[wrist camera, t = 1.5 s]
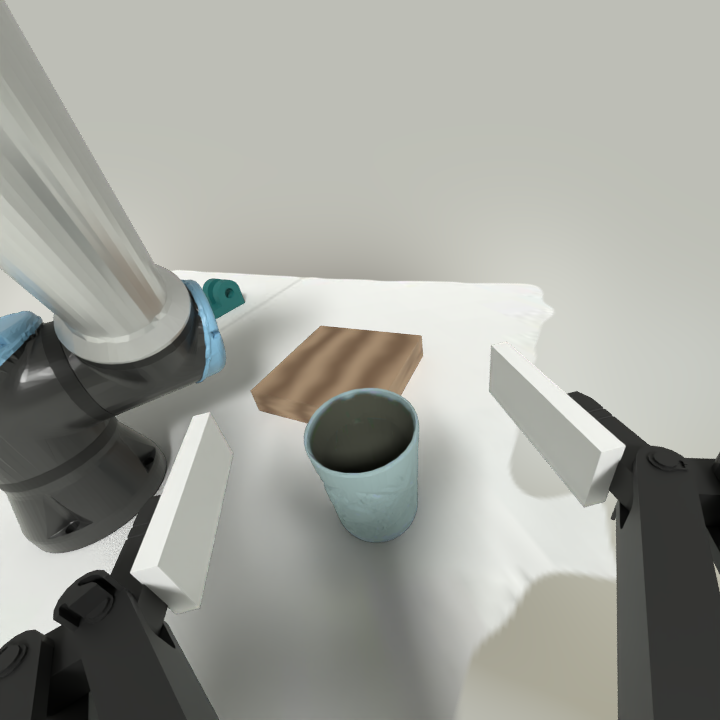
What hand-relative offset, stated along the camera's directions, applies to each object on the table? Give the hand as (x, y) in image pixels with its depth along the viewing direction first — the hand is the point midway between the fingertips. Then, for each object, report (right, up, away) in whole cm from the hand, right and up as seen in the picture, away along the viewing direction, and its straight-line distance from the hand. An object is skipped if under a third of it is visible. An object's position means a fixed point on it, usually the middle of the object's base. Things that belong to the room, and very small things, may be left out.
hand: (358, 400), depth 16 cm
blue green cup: (+2, -14, +20) cm, 24 cm away
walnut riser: (-2, -2, +39) cm, 39 cm away
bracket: (-39, +13, +73) cm, 84 cm away
